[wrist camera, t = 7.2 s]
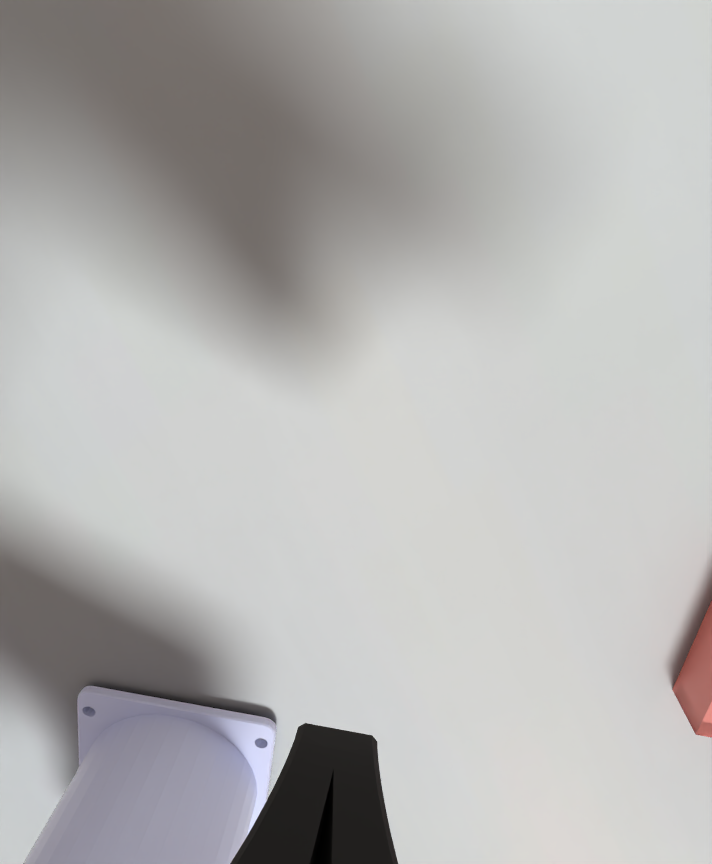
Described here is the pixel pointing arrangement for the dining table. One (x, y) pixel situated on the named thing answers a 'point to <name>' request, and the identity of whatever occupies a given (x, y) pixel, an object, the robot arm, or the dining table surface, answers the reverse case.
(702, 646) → the tray
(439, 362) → the dining table surface
